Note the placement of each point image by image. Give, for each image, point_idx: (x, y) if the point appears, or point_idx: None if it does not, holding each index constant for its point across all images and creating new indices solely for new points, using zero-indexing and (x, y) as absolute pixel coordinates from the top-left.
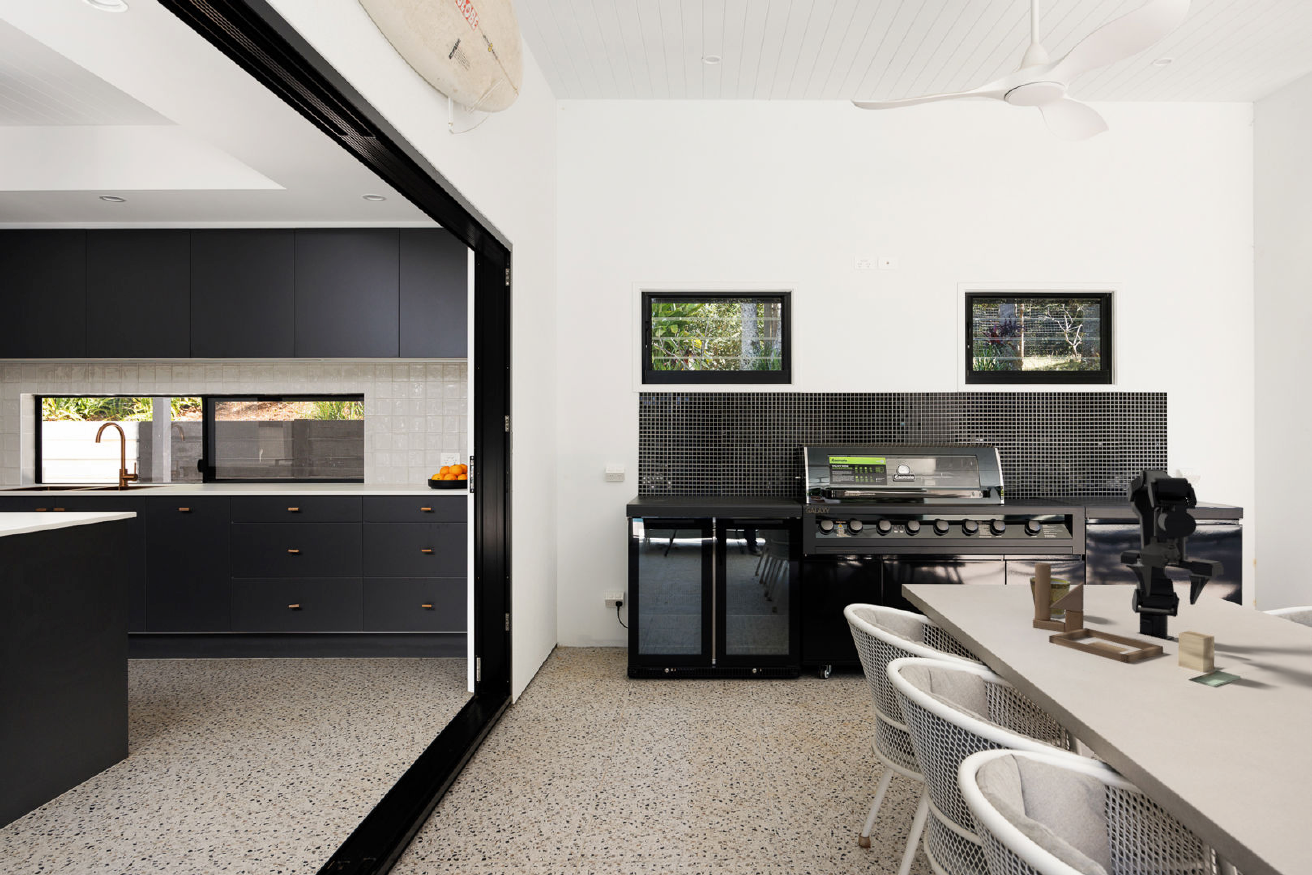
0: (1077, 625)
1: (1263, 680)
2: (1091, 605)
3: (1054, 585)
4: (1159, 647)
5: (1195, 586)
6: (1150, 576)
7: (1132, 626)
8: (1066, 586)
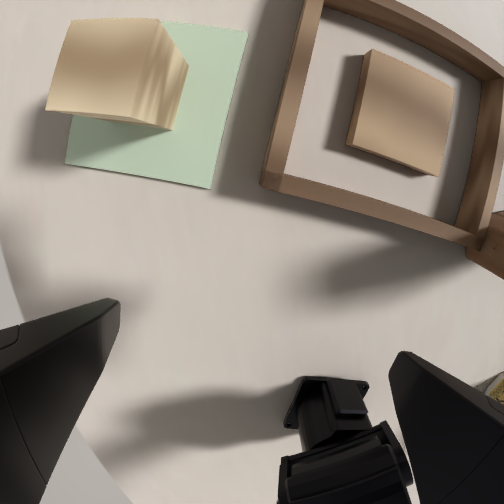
0: (501, 226)
1: (36, 193)
2: None
3: None
4: (267, 160)
5: None
6: (422, 494)
7: None
8: None
